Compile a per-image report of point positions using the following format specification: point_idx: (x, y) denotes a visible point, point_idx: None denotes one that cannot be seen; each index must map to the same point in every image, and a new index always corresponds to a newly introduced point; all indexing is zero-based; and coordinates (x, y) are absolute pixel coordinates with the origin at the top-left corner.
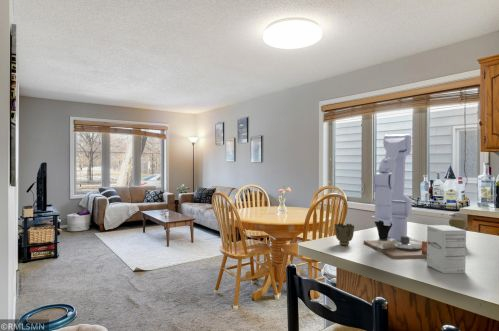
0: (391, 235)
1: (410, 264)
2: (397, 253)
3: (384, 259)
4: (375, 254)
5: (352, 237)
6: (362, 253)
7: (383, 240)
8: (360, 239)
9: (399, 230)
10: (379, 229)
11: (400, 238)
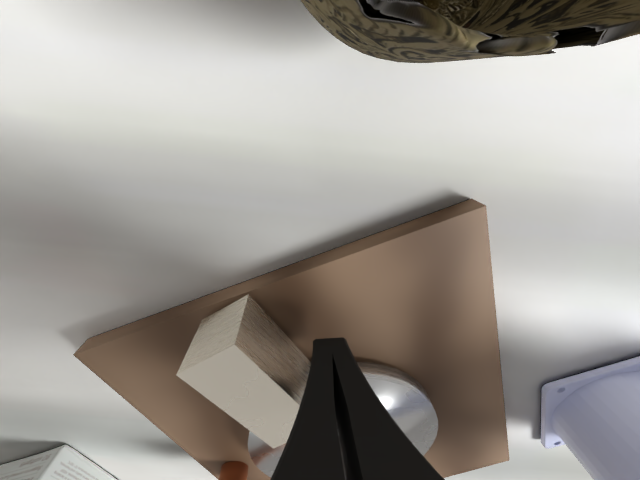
0: (601, 391)
1: (29, 395)
2: (153, 379)
3: (34, 293)
4: (137, 251)
5: (357, 50)
6: (106, 151)
7: (214, 380)
8: (601, 184)
9: (602, 465)
10: (276, 472)
11: (547, 413)
